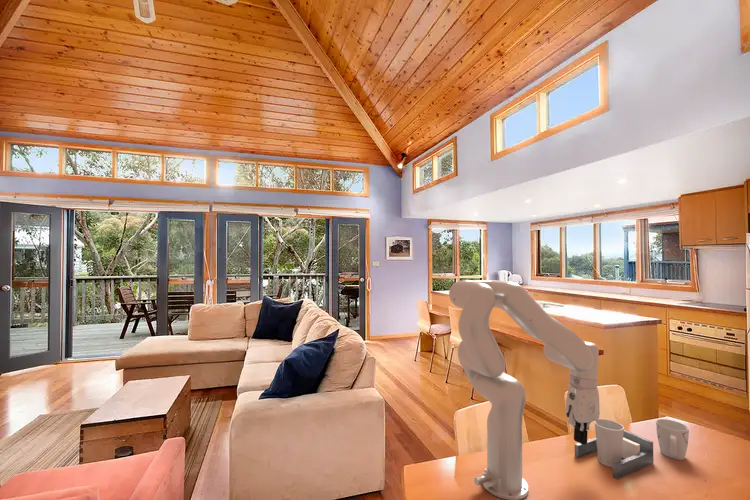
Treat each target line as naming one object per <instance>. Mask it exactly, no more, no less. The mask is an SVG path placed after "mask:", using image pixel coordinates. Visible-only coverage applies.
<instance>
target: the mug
mask: <svg viewBox="0 0 750 500" xmlns="http://www.w3.org/2000/svg"><path fill="white" fill-rule="evenodd" d="M655 425H656V426H655V428H656V436H657V442H658V446H659V451H660V453H661V454H662V455H664V456H666V457H668V458H670V459H674V460H684V459H686V456H687V449H688V444H689V436H690V435H689V434H690V429H689V427H688V426H687V425H685V424H684V423H681V422H680V421H679V422H678V421H676V420H671V419H667V418H666V419H665V418H658V419H656V421H655Z"/></svg>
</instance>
